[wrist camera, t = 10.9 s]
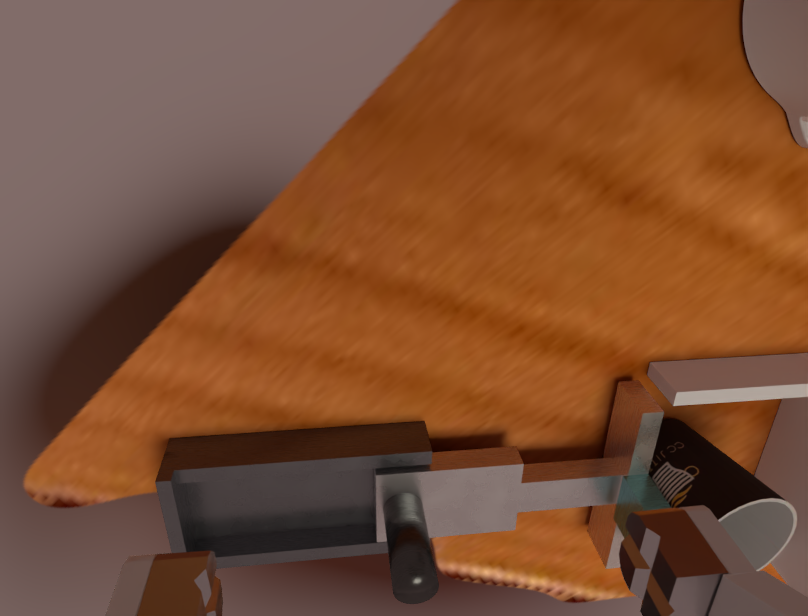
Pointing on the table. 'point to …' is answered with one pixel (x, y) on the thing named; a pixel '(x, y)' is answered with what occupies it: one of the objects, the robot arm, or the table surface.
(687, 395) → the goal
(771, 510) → the coffee mug
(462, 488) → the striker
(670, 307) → the table surface
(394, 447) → the rail
